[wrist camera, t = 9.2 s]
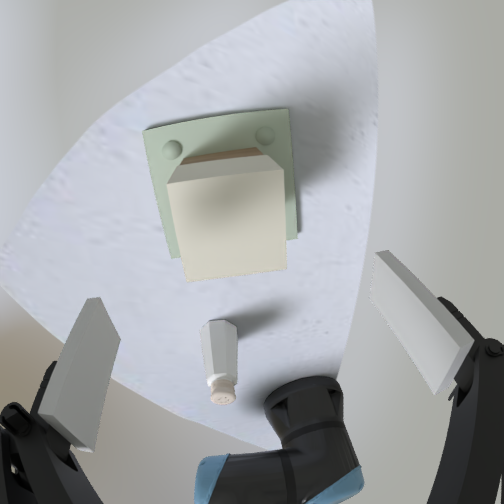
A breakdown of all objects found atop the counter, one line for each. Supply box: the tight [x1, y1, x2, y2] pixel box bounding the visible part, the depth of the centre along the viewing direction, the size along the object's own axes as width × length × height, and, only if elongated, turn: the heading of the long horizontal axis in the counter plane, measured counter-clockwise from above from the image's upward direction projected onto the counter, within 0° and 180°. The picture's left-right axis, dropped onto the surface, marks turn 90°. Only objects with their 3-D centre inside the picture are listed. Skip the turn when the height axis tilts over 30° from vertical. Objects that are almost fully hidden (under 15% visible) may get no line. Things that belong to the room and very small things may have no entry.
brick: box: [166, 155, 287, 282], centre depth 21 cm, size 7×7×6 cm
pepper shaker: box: [199, 320, 238, 405], centre depth 34 cm, size 5×5×11 cm
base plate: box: [142, 109, 298, 259], centre depth 28 cm, size 14×14×1 cm
